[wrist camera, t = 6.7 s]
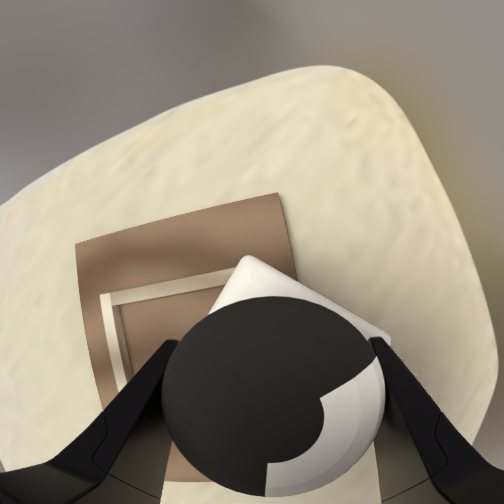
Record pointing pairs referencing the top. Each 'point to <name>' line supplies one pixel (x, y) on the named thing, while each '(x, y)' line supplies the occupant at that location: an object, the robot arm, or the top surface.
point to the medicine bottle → (274, 387)
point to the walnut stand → (168, 286)
